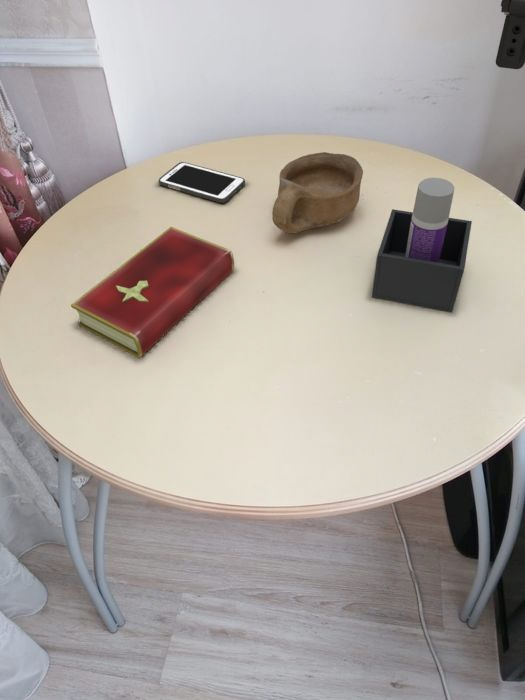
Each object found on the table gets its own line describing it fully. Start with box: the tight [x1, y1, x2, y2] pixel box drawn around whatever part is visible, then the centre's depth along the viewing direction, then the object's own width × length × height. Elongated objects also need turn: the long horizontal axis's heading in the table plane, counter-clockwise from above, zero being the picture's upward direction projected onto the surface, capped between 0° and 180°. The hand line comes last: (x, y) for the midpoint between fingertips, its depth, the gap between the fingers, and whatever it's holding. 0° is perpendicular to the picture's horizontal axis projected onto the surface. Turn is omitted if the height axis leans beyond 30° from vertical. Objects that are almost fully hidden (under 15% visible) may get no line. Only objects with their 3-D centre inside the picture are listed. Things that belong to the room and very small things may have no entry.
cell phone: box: [158, 161, 246, 204], centre depth 102 cm, size 8×15×1 cm, turn 60°
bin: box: [371, 208, 473, 313], centre depth 80 cm, size 11×11×8 cm
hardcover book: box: [70, 226, 235, 359], centre depth 81 cm, size 12×21×4 cm, turn 146°
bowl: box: [271, 151, 364, 234], centre depth 91 cm, size 18×14×10 cm
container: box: [405, 177, 455, 263], centre depth 76 cm, size 5×5×15 cm
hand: (519, 49), depth 48 cm, fingers open, 8 cm apart
